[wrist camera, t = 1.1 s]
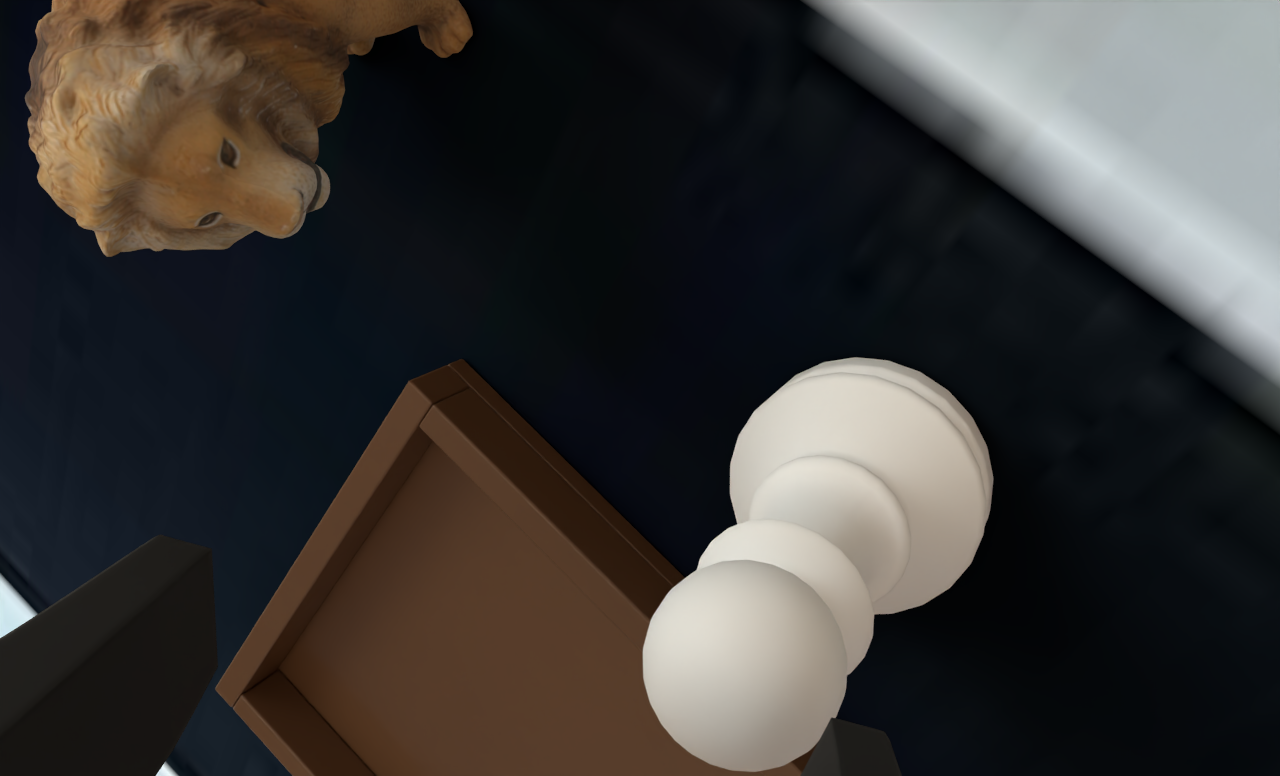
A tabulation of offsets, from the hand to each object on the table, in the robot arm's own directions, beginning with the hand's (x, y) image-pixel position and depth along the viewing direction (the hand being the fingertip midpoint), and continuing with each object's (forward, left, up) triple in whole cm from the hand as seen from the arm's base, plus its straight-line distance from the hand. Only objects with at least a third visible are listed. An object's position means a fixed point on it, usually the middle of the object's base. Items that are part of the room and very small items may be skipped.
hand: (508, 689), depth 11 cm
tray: (-2, +12, -11) cm, 16 cm away
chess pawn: (-2, 0, -11) cm, 11 cm away
